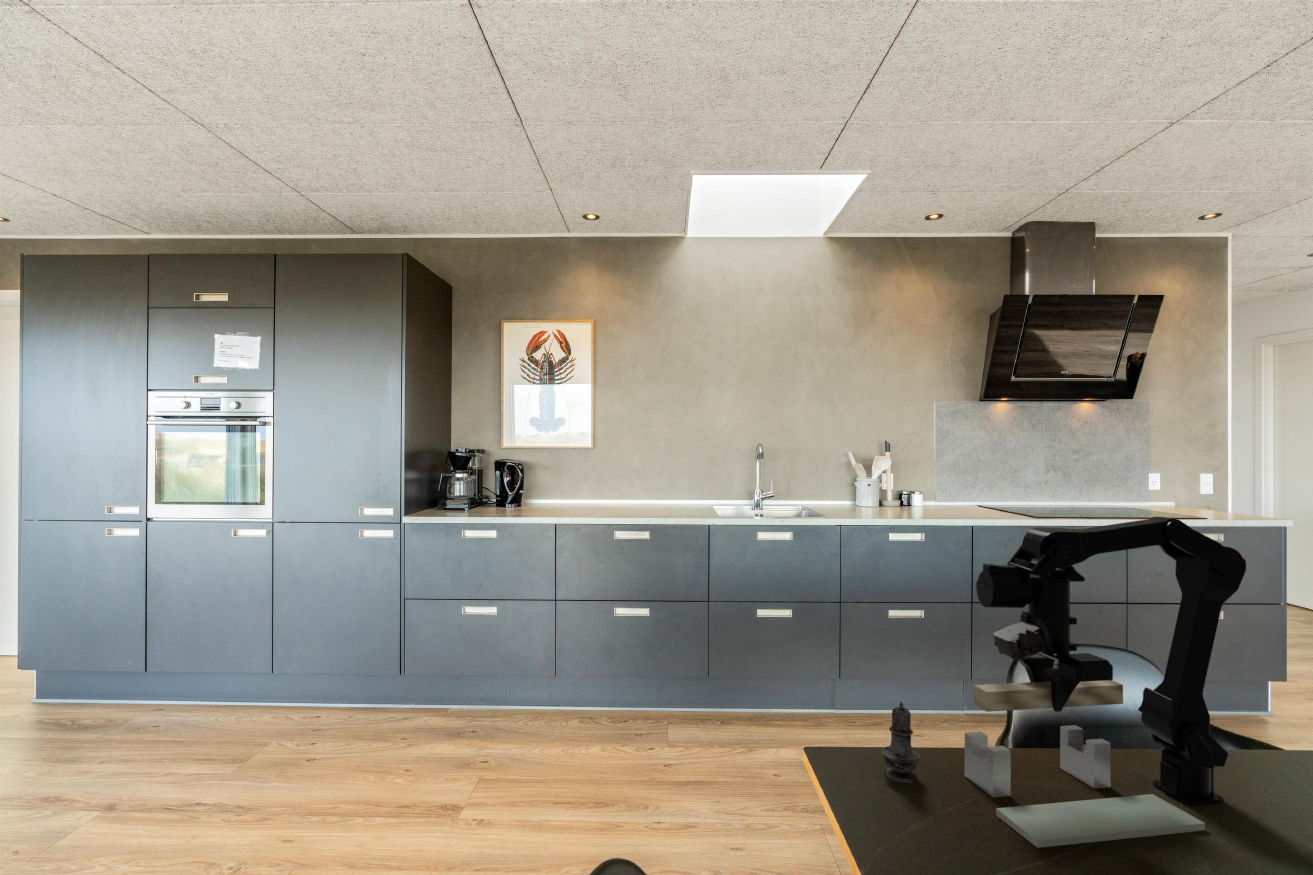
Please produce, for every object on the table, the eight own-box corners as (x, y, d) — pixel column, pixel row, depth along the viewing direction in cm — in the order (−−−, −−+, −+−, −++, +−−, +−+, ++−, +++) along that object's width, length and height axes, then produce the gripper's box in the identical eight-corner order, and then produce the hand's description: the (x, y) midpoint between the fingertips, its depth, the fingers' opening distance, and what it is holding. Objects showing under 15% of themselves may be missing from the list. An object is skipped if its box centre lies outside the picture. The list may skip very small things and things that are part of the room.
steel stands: (1075, 766, 111) (1075, 724, 112) (1110, 786, 105) (1110, 742, 105) (964, 775, 108) (964, 732, 108) (993, 797, 101) (993, 751, 101)
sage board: (1152, 800, 101) (1152, 793, 101) (1204, 830, 93) (1204, 822, 93) (996, 815, 96) (996, 808, 96) (1037, 847, 88) (1037, 840, 88)
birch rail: (1107, 696, 107) (1107, 678, 107) (1123, 703, 104) (1122, 684, 104) (974, 704, 103) (974, 684, 104) (986, 711, 101) (986, 691, 101)
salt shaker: (923, 786, 104) (923, 710, 104) (884, 782, 105) (885, 706, 105) (916, 769, 110) (916, 697, 110) (879, 765, 111) (880, 693, 111)
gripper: (966, 596, 112) (965, 688, 112) (1047, 625, 94) (1048, 735, 93) (1024, 595, 114) (1024, 685, 114) (1115, 622, 96) (1116, 730, 95)
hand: (1049, 707), depth 104 cm, fingers closed on birch rail, 3 cm apart
